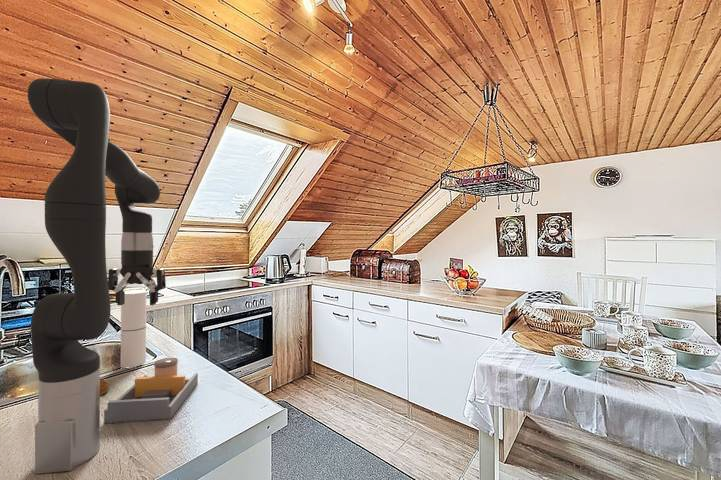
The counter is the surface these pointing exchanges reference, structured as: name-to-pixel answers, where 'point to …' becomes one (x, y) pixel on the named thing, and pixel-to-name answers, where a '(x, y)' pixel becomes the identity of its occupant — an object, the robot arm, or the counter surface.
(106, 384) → the pastry
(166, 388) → the pusher
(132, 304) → the cylindrical container
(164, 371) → the jar
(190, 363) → the counter surface
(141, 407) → the lane
